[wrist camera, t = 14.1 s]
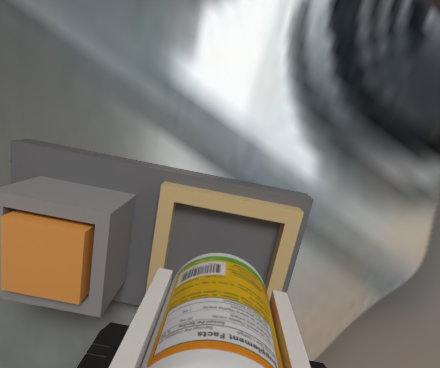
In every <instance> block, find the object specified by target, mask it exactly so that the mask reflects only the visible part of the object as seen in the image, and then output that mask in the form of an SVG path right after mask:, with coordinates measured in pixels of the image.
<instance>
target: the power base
mask: <svg viewBox="0 0 440 368" xmlns="http://www.w3.org/2000/svg"><path fill="white" fill-rule="evenodd" d="M312 203H313V199H312V198H311V197H310V196H309V195H308V194H305V193H300V192H295V191H289V190H284V189H279V188H274V187H269V186H264V185H259V184H254V183H249V182H244V181H239V180H233V179H228V178H223V177H218V176H213V175H208V174H203V173H198V172H193V171H188V170H183V169H177V168H172V167H167V166H162V165H157V164H152V163H147V162H142V161H137V160H132V159H127V158H121V157H116V156H111V155H106V154H101V153H96V152H91V151H86V150H81V149H76V148H71V147H65V146H60V145H55V144H50V143H45V142H40V141H35V140H30V139H23V140H11V184H9V185H6V186H2V187H0V298H1V299H6V300H11V301H17V302H22V303H27V304H32V305H37V306H43V307H48V308H53V309H58V310H63V311H69V312H74V313H79V314H84V315H89V316H95V317H101V316H102V314H103V313H104V311H105V310H106V308H107V307H108V305H109V304H110V302H111V301H116V302H122V303H127V304H132V305H137V306H140V304H141V302H142V300H143V298H144V296H145V294H146V292H147V290H148V288H149V286H150V284H151V283H152V281H153V279H154V277H155V275H156V273H157V271H158V269H159V268H163V269H168V270H173V273H172V279H171V284H172V282H173V279H174V277H175V275H176V274H177V272H178V271H179V270H180V269H181V267H182V266H183V265H185V264H186V263H187V262H188V261H190V260H191V259H193V258H195V257H198V256H200V255H203V254H208V253H226V254H231V255H234V256H237V257H239V258H241V259H243V260H245V261H246V262H248V263H249V264H250V265H251V266H252V267H253V268H254V269H255V270H256V271H257V272H258V273H259V275H260V276H261V278H262V280H263V282H264V285H265V288H266V292H267V295H268V300H269V301H270V298H271V294H272V290H275V291H280V292H285V293H287V290H288V286H289V283H290V279H291V276H292V272H293V269H294V265H295V262H296V258H297V255H298V252H299V248H300V245H301V241H302V238H303V234H304V231H305V227H306V224H307V220H308V217H309V213H310V210H311V206H312ZM17 209H18V210H23V211H28V212H34V213H39V214H44V215H49V216H54V217H59V218H64V219H70V220H75V221H80V222H85V223H90V224H95V232H94V243H93V255H92V267H91V278H90V290H89V294H88V295H87V296H86V297H85V298H84V300H83V301H82V302H81V303H80V304H79V305H78V304H73V303H67V302H62V301H57V300H52V299H47V298H41V297H36V296H31V295H26V294H21V293H15V292H10V291H5V290H1V216H2V215H5V214H7V213H10V212H12V211H15V210H17ZM170 286H171V285H170Z"/></svg>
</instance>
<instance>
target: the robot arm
mask: <svg viewBox="0 0 440 368" xmlns="http://www.w3.org/2000/svg"><path fill="white" fill-rule="evenodd" d="M172 273H173V270H168V269H163V268H159V269H158V271H157V273H156V275H155V277H154V279H153V281H152V283H151V284H150V286H149V288H148V290H147V292H146V294H145V296H144V298H143V300H142V302H141V304H140V306H139V308H138V310H137V312H136V314H135V316H134V318H133V320H132V322H131V324H130V326H126V325H121V324H116V323H110V324H109V325H107V326H106V327H105V328H104V329H102V330H101V331H100V332H99V334H98V335H97V337H96V339H95V340H94V342H93V344H92V345H91V347H90V348H89V350H88V351H87V354H86V355H85V356H84V358H83V359H82V361H81V362H80V364H79V365H78V367H77V368H140V367H141V365H142V362H143V359H144V357H145V354H146V351H147V349H148V346H149V343H150V340H151V338H152V335H153V332H154V330H155V327H156V324H157V322H158V319H159V316H160V313H161V311H162V308H163V305H164V302H165V300H166V297H167V294H168V291H169V289H170V285H171V279H172ZM269 304H270V309H271V314H272V318H273V322H274V327H275V332H276V337H277V341H278V346H279V350H280V355H281V359H282V364H283V368H326V367H325V365H324V364H323V363H319V362H314V361H309V360H308V357H307V354H306V351H305V348H304V345H303V342H302V338H301V335H300V332H299V329H298V326H297V323H296V320H295V317H294V314H293V311H292V308H291V305H290V302H289V299H288V296H287V293H285V292H280V291H275V290H272V294H271V298H270V301H269Z"/></svg>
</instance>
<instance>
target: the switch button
mask: <svg viewBox="0 0 440 368" xmlns="http://www.w3.org/2000/svg"><path fill="white" fill-rule="evenodd" d="M94 232H95V224H90V223H85V222H80V221H75V220H70V219H64V218H59V217H54V216H49V215H44V214H39V213H34V212H28V211H23V210H18V209H17V210H15V211H12V212H10V213H7V214H5V215H2V216H1V290H5V291H10V292H15V293H21V294H26V295H31V296H36V297H41V298H47V299H52V300H57V301H62V302H67V303H73V304H78V305H79V304H80V303H81V302H82V301H83V300H84V298H85V297H86V296H87V295H88V294H89V290H90V278H91V267H92V255H93V243H94Z"/></svg>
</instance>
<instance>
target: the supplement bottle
mask: <svg viewBox="0 0 440 368" xmlns="http://www.w3.org/2000/svg"><path fill="white" fill-rule="evenodd" d="M140 368H283V364H282V359H281V355H280V350H279V346H278V341H277V337H276V332H275V327H274V322H273V318H272V314H271V309H270V304H269V300H268V295H267V292H266V288H265V285H264V282H263V280H262V278H261V276H260V275H259V273H258V272H257V271H256V270H255V269H254V268H253V267H252V266H251V265H250V264H249V263H248V262H246V261H245V260H243V259H241V258H239V257H237V256H234V255H231V254H226V253H208V254H203V255H200V256H198V257H195V258H193V259H191V260H190V261H188V262H187V263H186V264H185V265H183V266H182V267H181V269H180V270H179V271H178V272H177V274H176V275H175V277H174V279H173V282H172V284H171V286H170V289H169V291H168V294H167V297H166V300H165V302H164V305H163V308H162V311H161V313H160V316H159V319H158V322H157V324H156V327H155V330H154V332H153V335H152V338H151V340H150V343H149V346H148V349H147V351H146V354H145V357H144V359H143V362H142V365H141V367H140Z"/></svg>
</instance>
